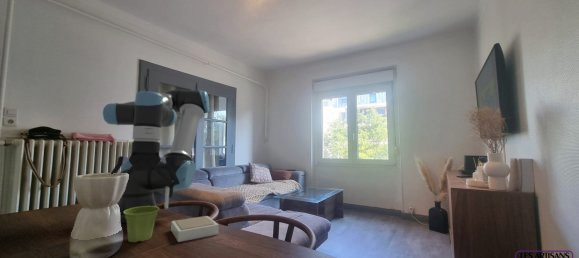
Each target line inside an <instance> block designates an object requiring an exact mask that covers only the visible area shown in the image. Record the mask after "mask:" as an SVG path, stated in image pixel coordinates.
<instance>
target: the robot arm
mask: <svg viewBox="0 0 579 258" xmlns="http://www.w3.org/2000/svg"><path fill="white" fill-rule="evenodd" d="M102 110H103V111H102V118H103V120H104V121H105V122H106V123H107V124H109V125H116V126H123V125H124V126H132V140H133V141H132V142H131V149H130V150H131V151H130V153H131V155H130V156H129V157H128V156H127V157H126V156H120V155H119V156H118V158H117V162H116V164H115V166H114V167H113V169H112V171H111V172H110V173H111V174H113V173H116V174H117V173H118V172H119V170H120V172H119V173H120V174H121V173H128V174H129V180H128V183H127V187H126V190H125V192H124V194H123V196H122V198H121V200H120V201H119V202H118V201H117V202H118V205H119V207H120V212H121V224H122V223H124V224H125V223H126V224H127V221H126V218H125V214H124V211H125V210H127V209H130V208H135V207H142V206H156V207H158V206H157V203H156V199H155V196H154V194H155V193H154V192H155V191H165V193H164V206H163V207H164V209H165V210H166V209H169V203H170V202H169V201H170V198H172V197H173V195H174V194H173V193H174V192H175V191H182V190H187V189H189V188H190V187H191V186H192V184H193V182H194V179H195V176H196V169H197V168H196V164H195V162H194V160H193V158H192V152H193V147H194V144H195V140H196V137H197V131H198V128H199V123H200V120H201V119H203V118H204V116H205V114H208V113H210V99H209V95H208V92H207V91H205V90H200V89H198V90H193V89H172V90H171V89H170V90H166V91H162V92H155V91H149V90H141V91H138V92H137V93H136V95H135V100H133V101H128V102H124V103H118V102H114V103H111V102H110V103H107V104H106V105H104V107H103V109H102ZM177 113H180V115H181V116H180V117H179V121H178V124H177V128H176V129H175V130H176V131H175V133H174V137H173V141H172V142H171V147H170V149H169V152H167V153H165V154H164V155H163V157H160V149H161V148H160V147H161V143H160V142H159V141H160V140H161V130H162V127H163V128H165V127H166V128H169V127H171V126H174V125H175V123H176V122H177V120H178V119H177V118H178V115H177ZM173 191H174V192H173ZM157 216H158V214H157V215H156V217H157Z"/></svg>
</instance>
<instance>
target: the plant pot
mask: <svg viewBox="0 0 579 258" xmlns="http://www.w3.org/2000/svg"><path fill="white" fill-rule="evenodd" d="M156 206H157V205H156ZM156 206H142V207H135V208H130V209H127V210H125V211H124V214H125V218H126V221H127V222H126V230H127V231H126V232H127V241H128V242H130V243H137V242H146V241H148V240H150V239H151V238H152V235H153V232H154V227H155V223H156V217H157V216H158V212H159V211H160V207H158V206H157V207H156ZM156 215H157V216H156Z"/></svg>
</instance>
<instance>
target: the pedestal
mask: <svg viewBox="0 0 579 258" xmlns="http://www.w3.org/2000/svg"><path fill="white" fill-rule="evenodd" d="M219 227H220V226H219V223H218V222H216V221H215V220H214V219H213V218H211V217H210V216H208V215H204V216H198V217H191V218H184V219H177V220H172V221H171V227H170V228H171V229H170V230H171V233H172V234H173V236H174V237H175V239H176V241H177V243H180V242H185V241H186V242H187V241H190V240H197V239H200V238H201V239H202V238H205V237H211V236H215V235H219Z"/></svg>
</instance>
